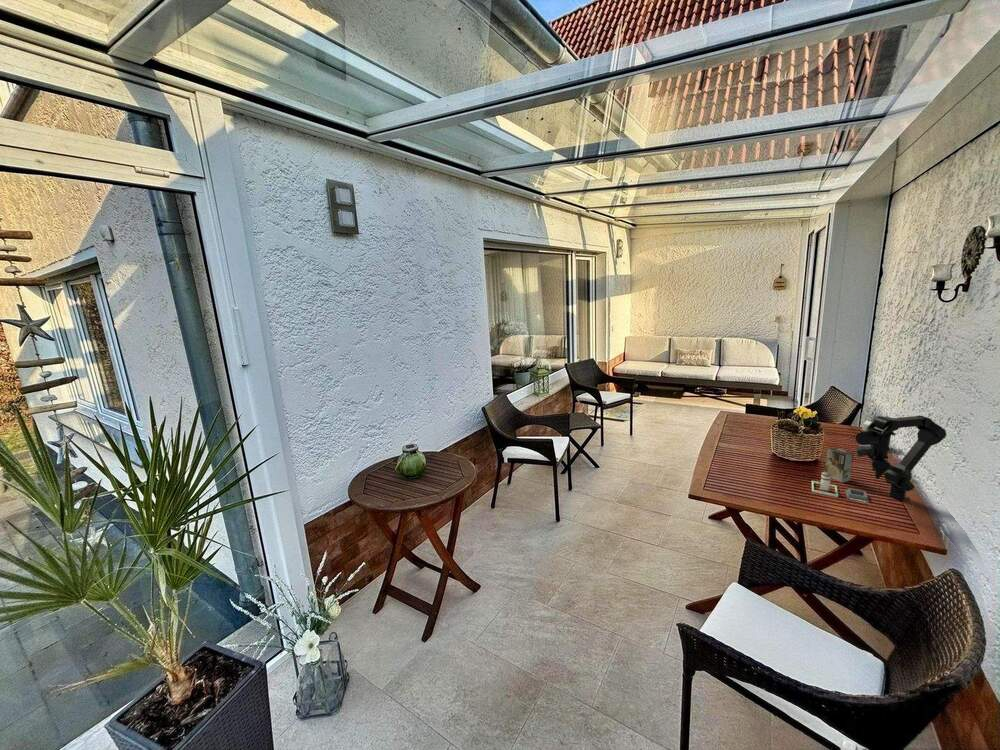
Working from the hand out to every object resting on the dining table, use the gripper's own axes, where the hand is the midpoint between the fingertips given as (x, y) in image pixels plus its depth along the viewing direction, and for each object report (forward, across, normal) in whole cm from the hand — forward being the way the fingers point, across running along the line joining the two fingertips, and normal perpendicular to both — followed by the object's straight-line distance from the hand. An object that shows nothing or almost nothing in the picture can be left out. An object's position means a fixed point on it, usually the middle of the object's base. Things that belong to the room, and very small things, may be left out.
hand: (875, 474), depth 195 cm
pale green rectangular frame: (+13, +1, -18) cm, 22 cm away
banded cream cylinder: (+12, +1, -18) cm, 22 cm away
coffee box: (+13, -18, -12) cm, 25 cm away
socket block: (+13, +1, -6) cm, 14 cm away
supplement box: (+13, -83, +8) cm, 84 cm away
